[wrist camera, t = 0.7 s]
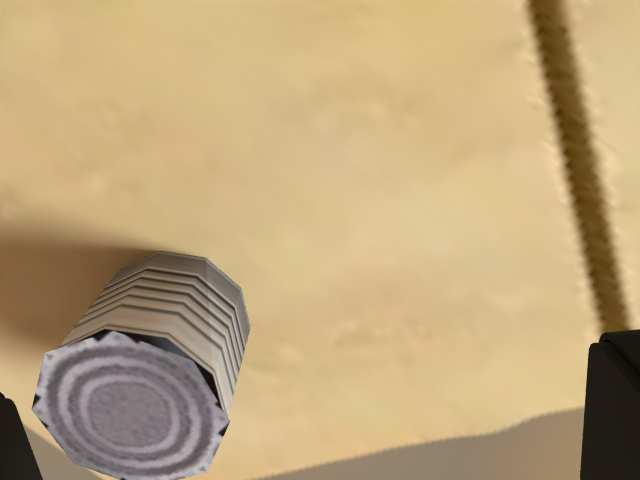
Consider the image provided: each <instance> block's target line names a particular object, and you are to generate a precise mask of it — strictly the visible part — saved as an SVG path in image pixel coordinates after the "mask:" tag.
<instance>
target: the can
mask: <svg viewBox="0 0 640 480" xmlns="http://www.w3.org/2000/svg"><path fill="white" fill-rule="evenodd" d="M249 331H250V324H249V320H248V316H247V312H246V307H245V303H244V299H243V294H242V290H241V288H240V287H239V286H238V285H237V284H236V283H235V282H233V281H232V280H231V279H230V278H229V277H228V276H226V275H225V274H224V273H223V272H222V271H221V270H219V269H218V268H217V267H216V266H215V265H214V264H212V263H211V262H210V261H209V260H208V259H207V258H203V257H196V256H190V255H183V254H177V253H170V252H163V251H158V252H156V253H154V254H152V255H149V256H147V257H145V258H143V259H141V260H139V261H137V262H135V263H133V264H131V265H129V266H127V267H125V268H123V269H121V270H120V271H119V272H118V273H117V274H116V276H115V277H114V278H113V279H112V281H111V282H110V283H109V284H108V286H107V287H106V288H105V289H104V291H103V292H102V293H101V294H100V296H99V297H98V298H97V299H96V301H95V302H94V303H93V304H92V306H91V307H90V308H89V309H88V311H87V312H86V313H85V314H84V316H83V317H82V318H81V319H80V321H79V322H78V323H77V325H76V326H75V327H74V328H73V330H72V331H71V332H70V333H69V335H68V336H67V337H66V338H65V340H64V341H63V342H62V343H61V345H60V346H59V347H58V348H57V349H56V350H53V351H50V352H47V353H45V354H44V358H43V363H42V367H41V371H40V376H39V380H38V384H37V388H36V393H35V397H34V401H33V406H32V411H33V412H34V413H35V415H36V416H37V417H38V418H39V420H40V421H41V422H42V424H43V425H44V426H45V427H46V429H47V430H48V431H49V433H50V434H51V435H52V436H53V438H54V439H55V440H56V442H57V443H58V444H59V445H60V447H61V448H62V449H63V450H64V452H65V453H66V454H67V456H68V457H69V458H70V459H71V461H72V462H73V463H74V464H77V465H80V466H82V467H85V468H88V469H91V470H94V471H97V472H100V473H101V474H105V475H108V476H111V477H114V478H117V479H119V480H178V479H182V478H186V477H190V476H194V475H198V474H202V473H206V472H207V471H208V469H209V467H210V464H211V462H212V460H213V458H214V456H215V453H216V451H217V449H218V447H219V445H220V442H221V440H222V438H223V436H224V434H225V432H226V429H227V427H228V425H229V423H230V420H229V419H228V413H229V410H230V406H231V402H232V398H233V394H234V390H235V386H236V382H237V378H238V374H239V370H240V366H241V362H242V358H243V354H244V350H245V347H246V343H247V339H248V335H249Z"/></svg>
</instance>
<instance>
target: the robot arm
mask: <svg viewBox="0 0 640 480" xmlns="http://www.w3.org/2000/svg"><path fill="white" fill-rule="evenodd" d="M582 442H583V443H582V456H581V470H580V479H581V480H640V329H638V330H627V331H617V332H606V333H604V334H602V335H601V337H600V339H599V343H593V344H591V345H590V348H589V354H588V368H587V383H586V398H585V412H584V428H583V441H582ZM0 480H43V478H42V476H41V473H40V470H39V468H38V465H37V462H36V460H35V457H34V454H33V451H32V449H31V446H30V443H29V441H28V438H27V435H26V432H25V430H24V427H23V424H22V422H21V419H20V416H19V413H18V411H17V408H16V406H15V404H14V402H13V401H12V400H11V399H8V398H5V396H4V395H3V394H2V393H1V392H0Z"/></svg>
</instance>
